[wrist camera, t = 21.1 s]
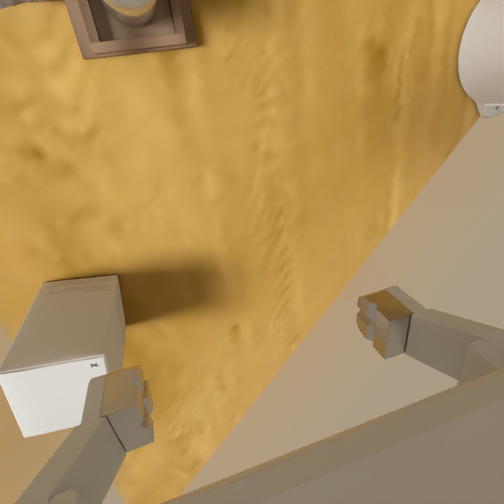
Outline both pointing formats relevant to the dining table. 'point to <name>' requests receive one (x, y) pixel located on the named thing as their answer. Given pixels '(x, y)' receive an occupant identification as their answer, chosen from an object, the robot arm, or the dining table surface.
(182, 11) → the brown wooden tray
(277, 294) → the dining table surface
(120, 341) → the supplement box
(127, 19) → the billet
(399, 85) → the dining table surface
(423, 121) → the dining table surface
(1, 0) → the stone block
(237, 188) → the dining table surface
